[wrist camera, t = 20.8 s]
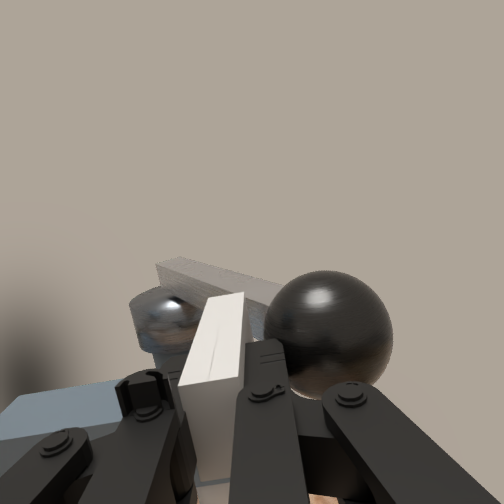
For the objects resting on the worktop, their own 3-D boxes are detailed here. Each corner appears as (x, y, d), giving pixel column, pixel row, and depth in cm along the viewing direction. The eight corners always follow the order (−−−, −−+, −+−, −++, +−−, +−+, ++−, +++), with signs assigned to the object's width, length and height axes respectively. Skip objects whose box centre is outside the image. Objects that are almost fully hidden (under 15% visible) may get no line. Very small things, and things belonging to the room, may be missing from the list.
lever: (316, 538, 11) (277, 321, 10) (129, 336, 30) (106, 249, 28) (450, 432, 14) (434, 255, 13) (206, 308, 33) (189, 229, 31)
